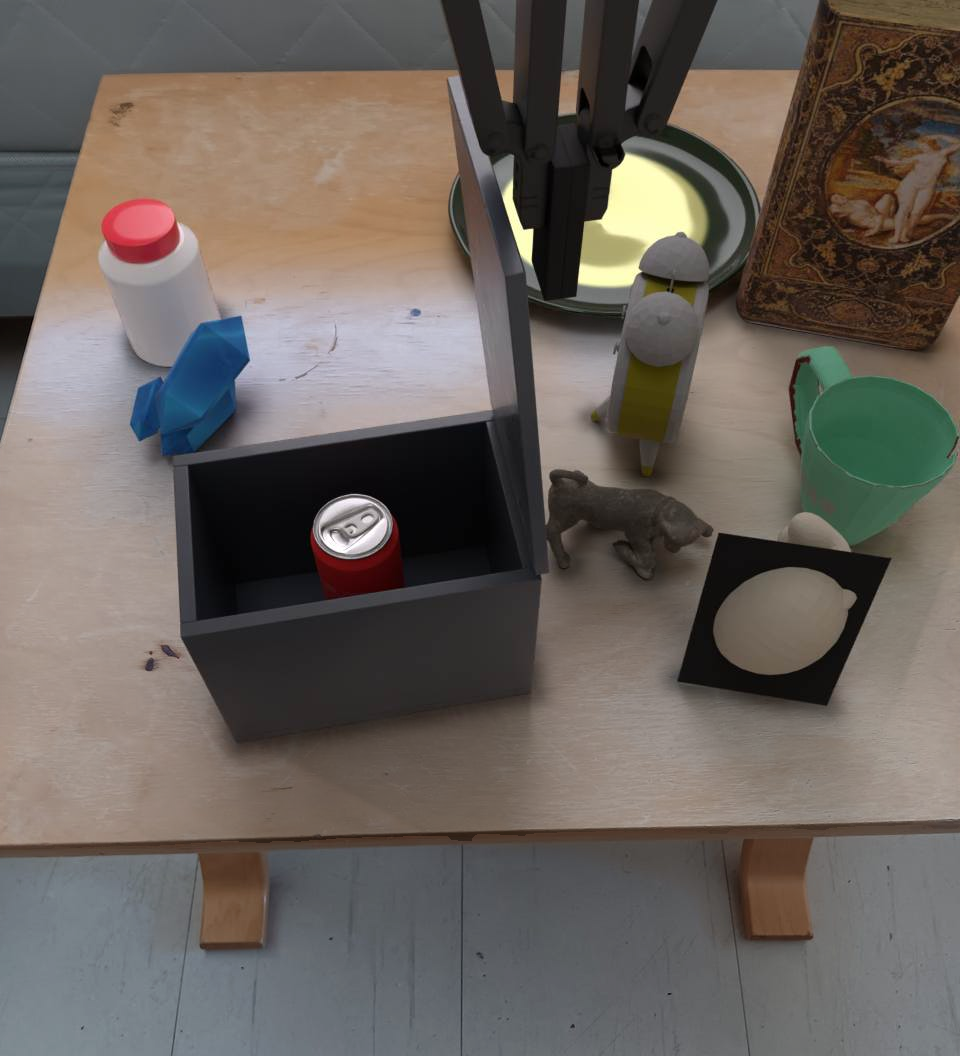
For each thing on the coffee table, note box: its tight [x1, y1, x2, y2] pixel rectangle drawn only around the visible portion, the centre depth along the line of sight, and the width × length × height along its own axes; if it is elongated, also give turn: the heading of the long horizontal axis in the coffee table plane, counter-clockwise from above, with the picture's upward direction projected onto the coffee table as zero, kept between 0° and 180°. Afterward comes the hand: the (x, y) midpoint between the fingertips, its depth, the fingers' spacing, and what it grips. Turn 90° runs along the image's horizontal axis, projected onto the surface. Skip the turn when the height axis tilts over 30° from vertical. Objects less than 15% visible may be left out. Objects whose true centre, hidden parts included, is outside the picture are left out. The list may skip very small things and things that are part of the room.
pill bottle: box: [97, 198, 222, 368], centre depth 79 cm, size 8×8×11 cm
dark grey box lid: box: [445, 74, 550, 576], centre depth 48 cm, size 21×13×1 cm
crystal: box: [129, 315, 251, 457], centre depth 75 cm, size 7×9×12 cm
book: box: [735, 0, 960, 351], centre depth 74 cm, size 16×6×25 cm, turn 76°
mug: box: [788, 345, 960, 547], centre depth 71 cm, size 15×10×10 cm
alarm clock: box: [589, 232, 710, 477], centre depth 72 cm, size 12×7×15 cm, turn 167°
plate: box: [447, 112, 762, 318], centre depth 89 cm, size 28×28×2 cm
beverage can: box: [311, 494, 405, 600], centre depth 63 cm, size 5×5×12 cm
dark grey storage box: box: [172, 409, 543, 744], centre depth 63 cm, size 20×13×14 cm, turn 101°
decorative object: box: [676, 511, 892, 707], centre depth 64 cm, size 13×10×10 cm
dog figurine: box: [546, 468, 715, 580], centre depth 69 cm, size 12×6×7 cm, turn 74°
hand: (553, 278), depth 45 cm, fingers closed
